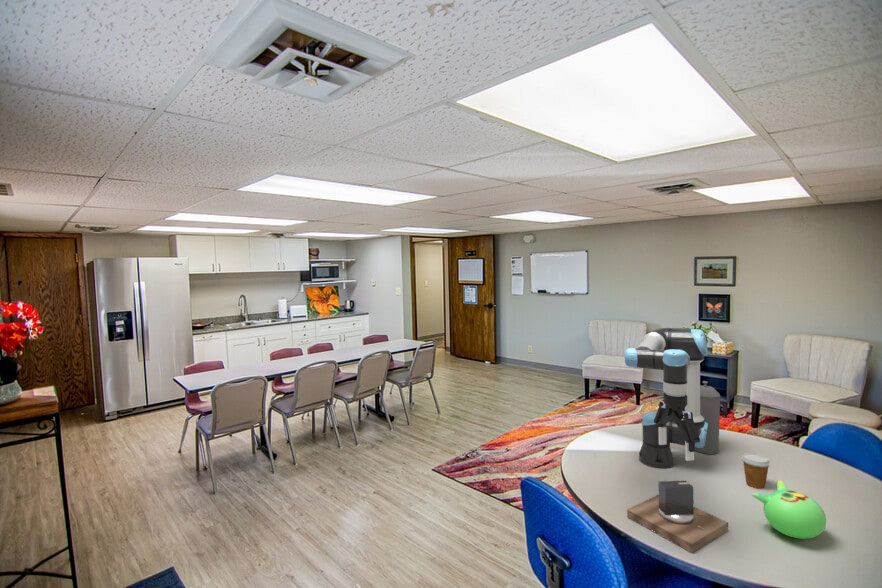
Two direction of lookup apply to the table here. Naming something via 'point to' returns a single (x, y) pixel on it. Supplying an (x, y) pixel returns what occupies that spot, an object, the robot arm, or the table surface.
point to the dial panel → (679, 525)
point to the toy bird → (793, 512)
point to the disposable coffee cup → (755, 470)
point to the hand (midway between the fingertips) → (675, 451)
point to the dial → (676, 501)
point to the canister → (710, 418)
